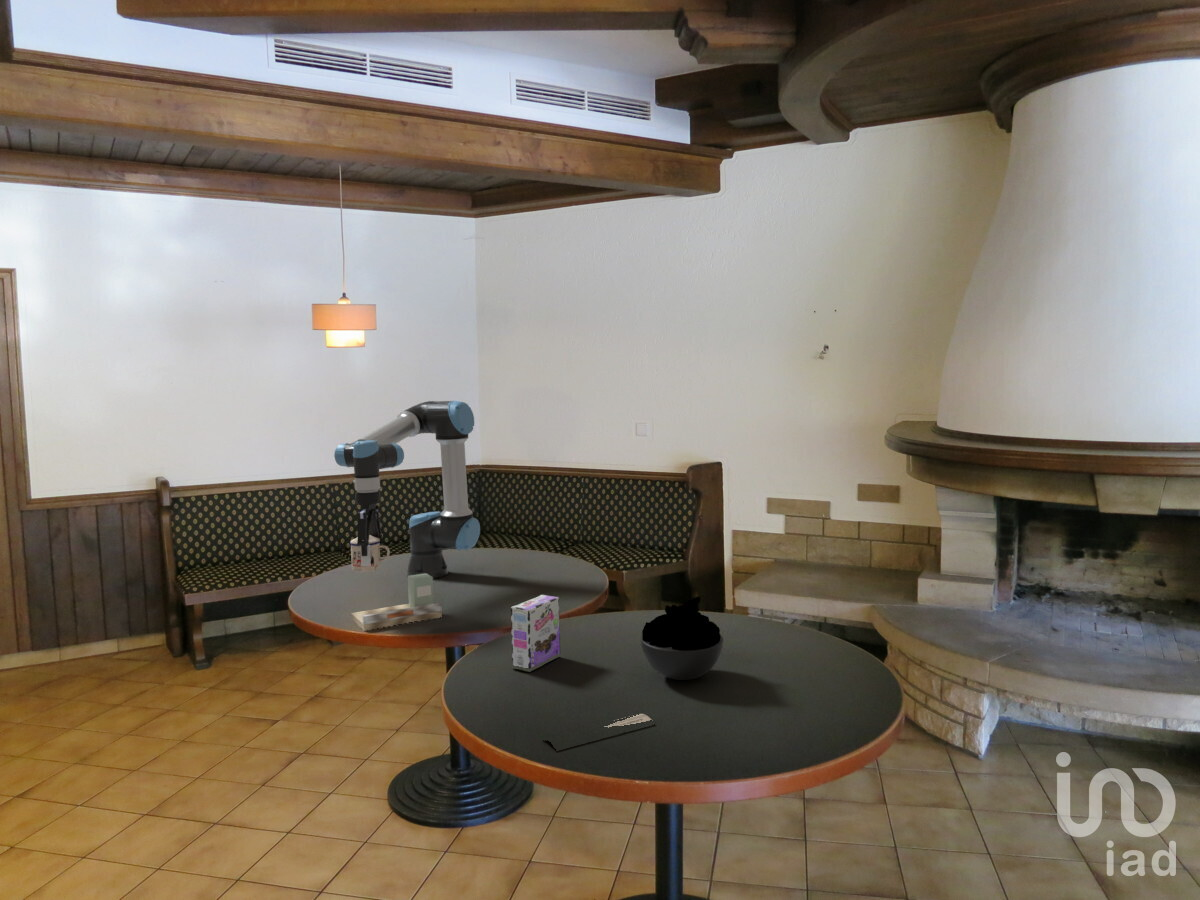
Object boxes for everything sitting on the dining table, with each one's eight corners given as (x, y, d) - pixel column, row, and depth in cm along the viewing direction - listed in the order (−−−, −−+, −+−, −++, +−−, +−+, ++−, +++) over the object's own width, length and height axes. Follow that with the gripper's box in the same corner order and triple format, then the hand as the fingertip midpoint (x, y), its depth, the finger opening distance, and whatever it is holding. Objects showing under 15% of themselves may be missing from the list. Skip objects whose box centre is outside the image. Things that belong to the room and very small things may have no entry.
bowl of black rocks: (665, 699, 193) (664, 618, 191) (627, 671, 211) (626, 597, 210) (739, 684, 201) (739, 607, 199) (697, 658, 219) (696, 587, 217)
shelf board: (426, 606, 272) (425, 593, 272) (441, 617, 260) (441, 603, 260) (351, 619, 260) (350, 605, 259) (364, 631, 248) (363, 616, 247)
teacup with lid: (347, 572, 258) (345, 535, 257) (355, 565, 267) (354, 529, 266) (386, 572, 258) (384, 534, 257) (393, 565, 267) (392, 528, 266)
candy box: (530, 674, 211) (528, 609, 209) (511, 669, 214) (509, 606, 212) (561, 657, 222) (560, 596, 221) (543, 653, 226) (541, 593, 224)
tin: (427, 604, 268) (426, 573, 267) (434, 608, 263) (432, 577, 262) (409, 607, 265) (407, 575, 264) (415, 611, 260) (414, 579, 259)
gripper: (366, 486, 271) (369, 555, 273) (343, 496, 250) (347, 570, 252) (389, 485, 271) (392, 554, 273) (368, 495, 249) (372, 570, 252)
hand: (370, 562), depth 263 cm, fingers closed on teacup with lid, 9 cm apart
